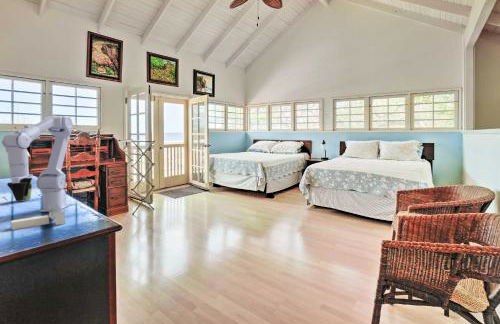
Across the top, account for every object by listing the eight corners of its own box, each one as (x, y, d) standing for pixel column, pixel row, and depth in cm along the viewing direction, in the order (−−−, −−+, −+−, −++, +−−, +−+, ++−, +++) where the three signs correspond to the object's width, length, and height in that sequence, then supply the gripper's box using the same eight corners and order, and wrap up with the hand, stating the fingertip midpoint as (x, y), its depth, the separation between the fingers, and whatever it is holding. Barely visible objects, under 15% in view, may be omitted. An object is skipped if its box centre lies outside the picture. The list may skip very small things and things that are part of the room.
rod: (11, 230, 98) (11, 222, 98) (12, 228, 101) (11, 220, 100) (49, 224, 105) (48, 216, 105) (48, 222, 107) (48, 214, 107)
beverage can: (15, 200, 140) (12, 177, 139) (33, 198, 146) (31, 176, 144) (16, 202, 136) (13, 179, 135) (34, 200, 141) (32, 177, 140)
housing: (49, 217, 113) (48, 206, 112) (58, 215, 115) (57, 204, 114) (56, 225, 103) (55, 213, 102) (65, 223, 105) (64, 211, 104)
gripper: (27, 165, 101) (31, 200, 103) (35, 161, 114) (37, 193, 115) (2, 166, 98) (6, 203, 99) (13, 162, 110) (16, 195, 112)
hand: (21, 198), depth 107 cm, fingers open, 7 cm apart
